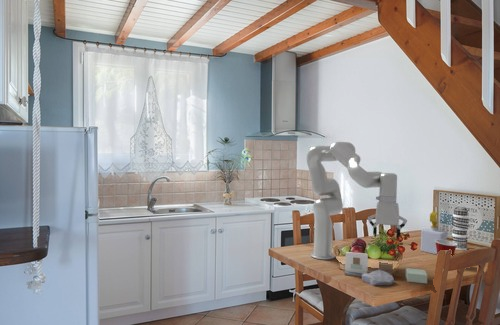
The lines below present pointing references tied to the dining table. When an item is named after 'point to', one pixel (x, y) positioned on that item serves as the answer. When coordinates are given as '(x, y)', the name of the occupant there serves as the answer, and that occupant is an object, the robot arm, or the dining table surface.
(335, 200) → the robot arm
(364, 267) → the picture card
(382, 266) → the walnut block
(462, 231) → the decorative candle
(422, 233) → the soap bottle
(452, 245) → the plastic cup
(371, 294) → the dining table surface
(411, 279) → the sage block
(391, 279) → the stone block
